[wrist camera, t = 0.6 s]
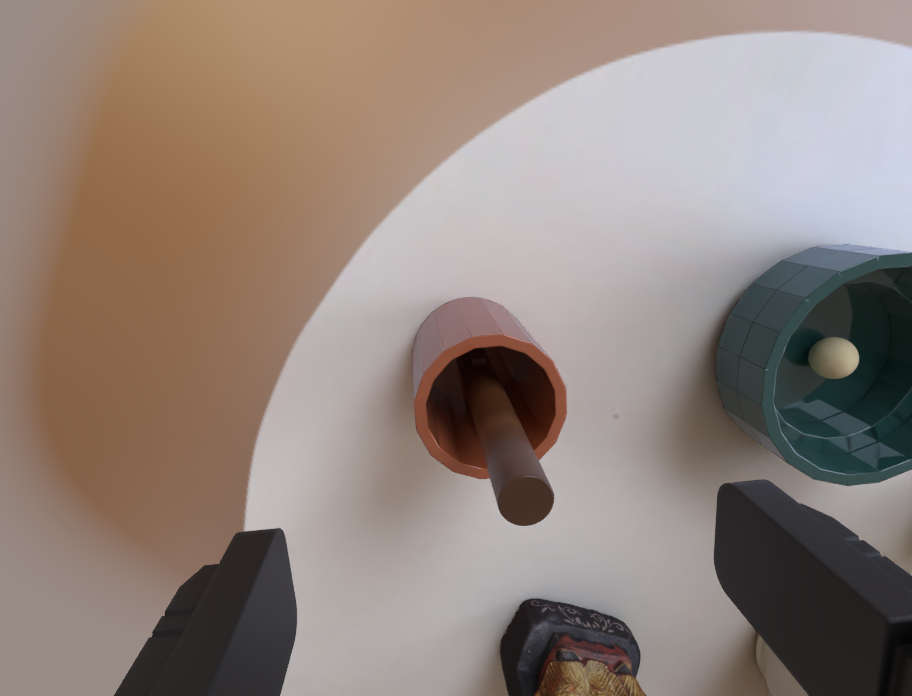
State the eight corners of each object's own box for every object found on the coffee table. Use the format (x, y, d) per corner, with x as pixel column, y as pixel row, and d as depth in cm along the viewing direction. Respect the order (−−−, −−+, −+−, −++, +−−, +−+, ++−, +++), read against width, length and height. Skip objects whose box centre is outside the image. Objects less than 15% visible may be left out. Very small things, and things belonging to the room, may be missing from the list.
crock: (408, 302, 36) (407, 342, 26) (524, 292, 36) (565, 328, 27) (418, 411, 38) (421, 485, 28) (528, 400, 38) (568, 470, 29)
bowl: (716, 253, 37) (773, 264, 31) (924, 235, 37) (1018, 243, 32) (704, 453, 41) (753, 496, 35) (893, 433, 41) (971, 472, 36)
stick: (454, 337, 36) (496, 471, 19) (485, 335, 36) (554, 465, 19) (457, 375, 37) (499, 536, 20) (487, 372, 37) (555, 530, 20)
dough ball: (800, 334, 38) (830, 345, 35) (840, 330, 38) (872, 341, 35) (796, 373, 38) (825, 386, 36) (835, 369, 39) (867, 382, 36)
